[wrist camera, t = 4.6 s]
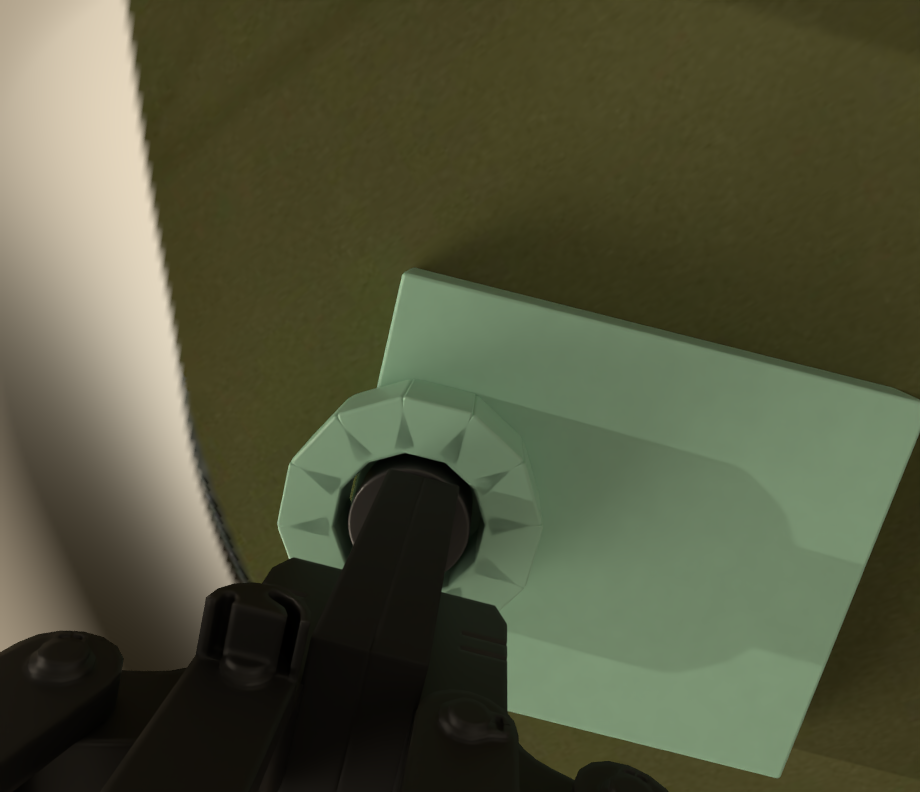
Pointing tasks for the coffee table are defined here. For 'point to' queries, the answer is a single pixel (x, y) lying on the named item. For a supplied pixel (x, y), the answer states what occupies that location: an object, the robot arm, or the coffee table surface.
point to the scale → (627, 508)
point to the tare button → (424, 469)
